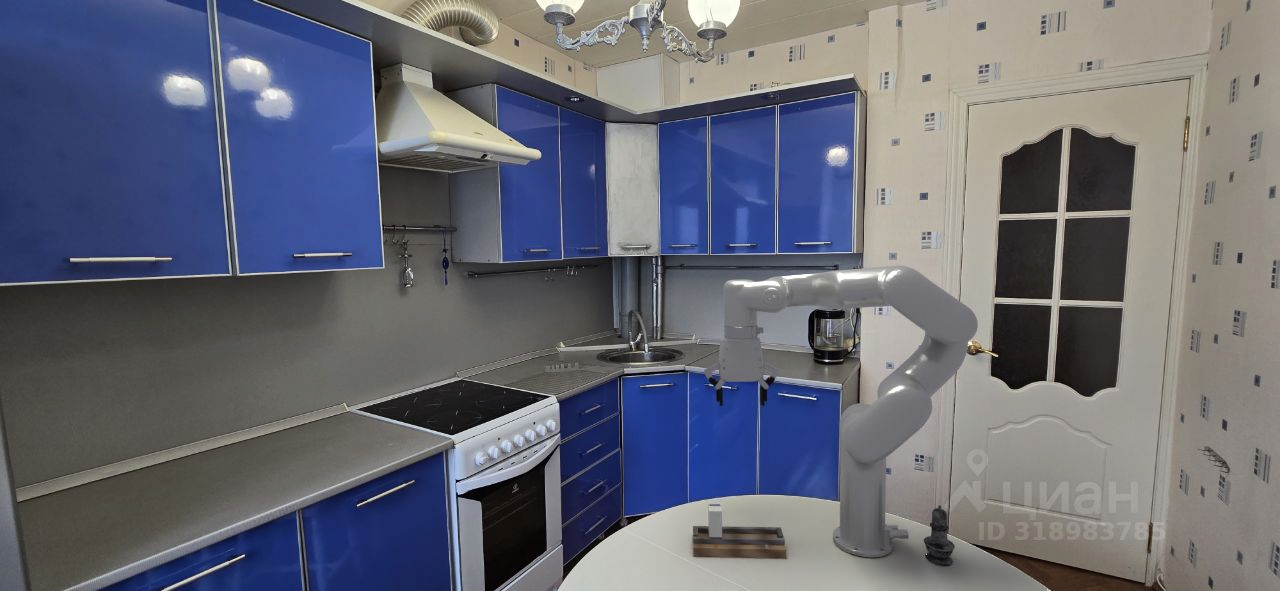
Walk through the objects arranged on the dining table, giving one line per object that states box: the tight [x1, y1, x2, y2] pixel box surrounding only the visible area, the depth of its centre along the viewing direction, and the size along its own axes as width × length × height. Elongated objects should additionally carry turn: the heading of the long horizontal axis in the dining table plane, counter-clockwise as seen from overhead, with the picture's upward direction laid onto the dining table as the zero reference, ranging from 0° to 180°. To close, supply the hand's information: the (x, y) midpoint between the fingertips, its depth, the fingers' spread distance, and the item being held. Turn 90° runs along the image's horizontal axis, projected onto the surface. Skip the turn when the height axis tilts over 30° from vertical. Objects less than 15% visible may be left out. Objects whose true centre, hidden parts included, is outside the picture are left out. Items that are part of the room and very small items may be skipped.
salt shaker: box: [923, 504, 956, 567], centre depth 118 cm, size 6×6×12 cm
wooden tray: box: [692, 525, 787, 560], centre depth 125 cm, size 20×9×4 cm, turn 85°
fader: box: [707, 499, 723, 537], centre depth 125 cm, size 3×6×8 cm, turn 175°
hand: (741, 404), depth 131 cm, fingers open, 9 cm apart
